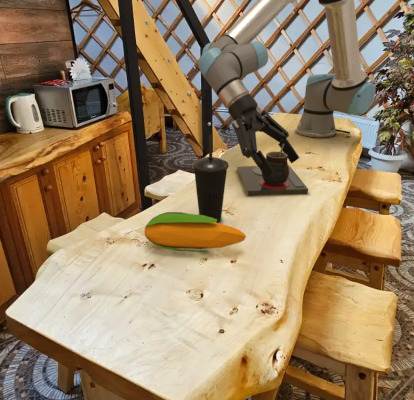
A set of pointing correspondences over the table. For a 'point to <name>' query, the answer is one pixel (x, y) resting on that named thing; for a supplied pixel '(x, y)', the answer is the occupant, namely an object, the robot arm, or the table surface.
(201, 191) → the drinking cup
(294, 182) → the hob
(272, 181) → the mate gourd
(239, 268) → the table surface
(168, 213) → the corn
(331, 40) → the robot arm
